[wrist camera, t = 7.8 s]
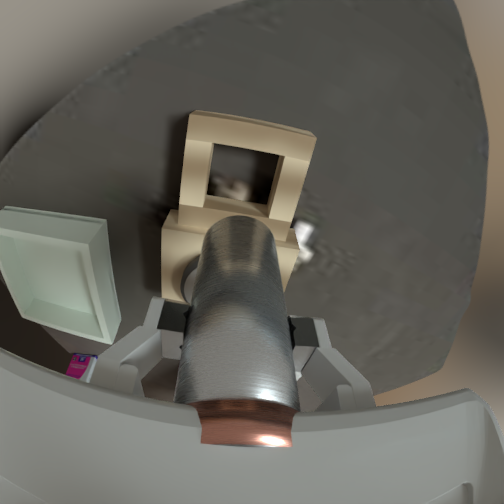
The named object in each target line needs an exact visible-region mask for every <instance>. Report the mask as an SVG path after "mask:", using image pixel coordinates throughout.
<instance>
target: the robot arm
mask: <svg viewBox="0 0 504 504" xmlns="http://www.w3.org/2000/svg"><path fill="white" fill-rule="evenodd" d="M189 307H190V303H188V302H182V301H177V300H172V299H167V298H166V299H165V298H160V297H155V296H153V298H152V299H151V302H150V305H149V308H148V311H147V314H146V317H145V321H144V324H143V326H138V327H137V328H136V329H134V330H133V331H131V332H130V333H129V334H127V335H126V336H125V337H123V338H122V339H121V340H119V341H118V342H117V343H115V344H114V345H113V346H111V347H110V348H109V349H107V350H106V351H105V352H103V353H102V354H100V355H99V356H98V359H97V361H96V364H95V367H94V370H93V373H92V375H91V378H90V381H89V383H88V382H85V381H82V380H79V379H76V378H73V377H70V376H67V375H64V374H61V373H58V372H56V371H53V370H50V369H48V368H45V367H42V366H40V365H38V364H35V363H33V362H30V361H28V360H26V359H23V358H21V357H19V356H17V355H15V354H12V353H10V352H8V351H6V350H4V349H2V348H0V504H504V436H503V433H502V431H501V428H500V426H499V423H498V421H497V419H496V417H495V414H494V412H493V411H492V409H491V407H490V406H489V404H488V403H487V402H486V401H485V400H483V399H482V398H481V397H480V396H479V395H478V394H476V393H475V392H473V391H472V390H471V389H469V388H464V389H461V390H457V391H454V392H450V393H446V394H442V395H438V396H433V397H429V398H424V399H419V400H414V401H409V402H403V403H398V404H392V405H384V406H377V407H376V404H375V401H374V398H373V393H372V390H371V386H370V383H369V382H368V381H367V380H366V379H365V378H364V377H363V376H362V375H361V374H360V373H359V372H358V371H357V370H356V369H355V368H354V367H353V366H352V365H351V364H350V363H349V362H348V361H347V360H346V359H345V358H344V357H343V356H342V355H341V354H340V353H339V352H338V351H337V350H336V349H335V348H332V347H331V343H330V340H329V336H328V332H327V329H326V325H325V321H324V319H323V318H313V317H312V318H311V317H301V316H288V317H287V318H288V324H289V331H290V338H291V345H292V352H293V359H294V366H295V373H296V380H298V379H299V378H300V377H301V374H302V375H303V377H304V378H305V379H306V381H307V382H308V383H309V385H310V386H311V388H312V389H313V390H314V392H315V393H316V394H317V396H318V397H319V398H320V400H321V401H322V402H323V403H322V404H321V405H320V406H319V407H318V408H317V409H316V410H315V411H314V412H297V413H295V415H294V417H293V422H292V429H291V437H292V446H293V447H238V446H223V445H211V444H202V443H201V433H202V426H201V423H200V419H199V416H198V412H197V410H196V409H195V408H194V407H193V406H191V405H186V404H180V403H173V402H167V401H162V400H157V399H151V398H147V397H145V396H144V392H143V388H142V384H141V379H142V378H143V377H144V376H145V375H146V374H147V373H148V372H149V371H150V370H151V369H152V368H153V367H154V366H155V365H156V364H157V363H158V362H159V361H160V360H161V359H162V357H164V358H171V359H178V360H180V357H181V351H182V345H183V340H184V335H185V329H186V323H187V318H188V313H189Z"/></svg>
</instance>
